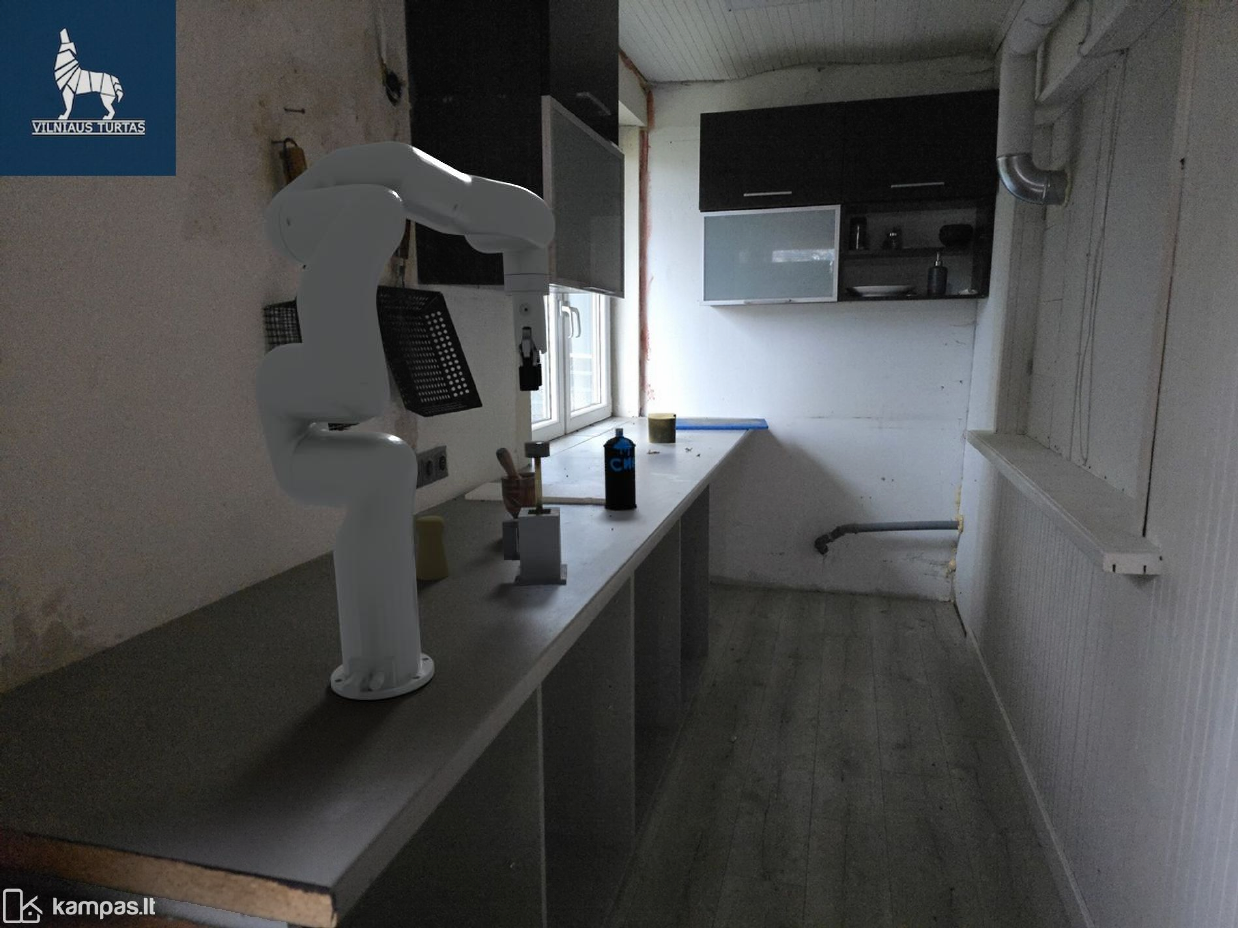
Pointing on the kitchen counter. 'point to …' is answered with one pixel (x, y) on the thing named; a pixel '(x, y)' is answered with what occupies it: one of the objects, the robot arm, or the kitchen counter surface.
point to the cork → (431, 549)
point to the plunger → (537, 466)
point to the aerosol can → (620, 472)
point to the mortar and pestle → (516, 486)
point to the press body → (535, 546)
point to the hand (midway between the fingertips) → (531, 388)
